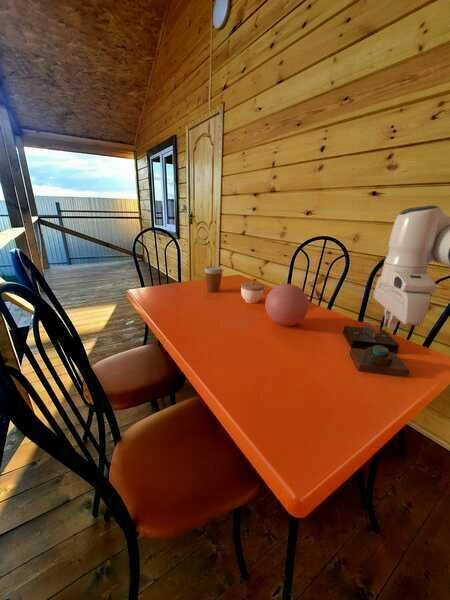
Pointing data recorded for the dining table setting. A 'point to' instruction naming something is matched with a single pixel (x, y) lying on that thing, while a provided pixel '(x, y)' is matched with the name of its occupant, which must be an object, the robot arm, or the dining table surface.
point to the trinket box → (252, 291)
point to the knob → (371, 329)
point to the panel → (369, 339)
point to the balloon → (286, 304)
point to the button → (380, 351)
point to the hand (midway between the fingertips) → (389, 326)
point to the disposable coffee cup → (213, 278)
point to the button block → (378, 363)
